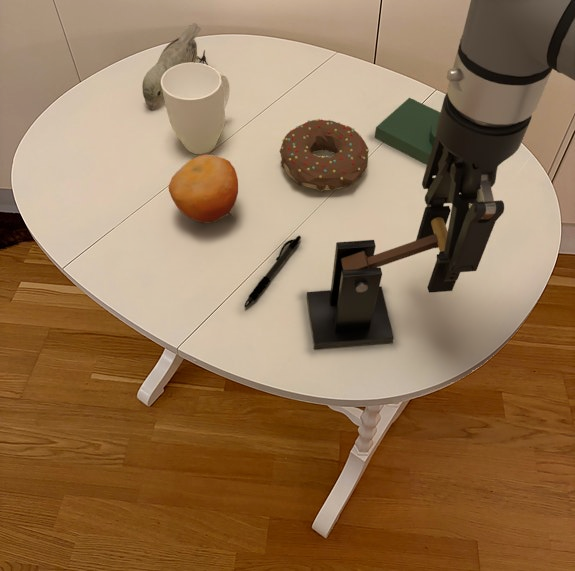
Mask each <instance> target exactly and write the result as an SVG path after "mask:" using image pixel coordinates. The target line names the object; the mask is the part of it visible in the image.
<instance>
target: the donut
mask: <svg viewBox="0 0 575 571" xmlns="http://www.w3.org/2000/svg"><path fill="white" fill-rule="evenodd" d="M281 141H282V143H281V146H280V148H279V151H278V152H279V153H280V157H281V161H280V164H281V165H280V167H281V168H283V169H284V170H285V172H286V173H287V175H288V176H289V177H290V178H291V179H292V180H294V181H295V182H296V183H297V184H298V186H304V187H306V188H310V189H314V190H318V191H319V192H323V191H334V190H339V189H344V188H349V187H351V186H352V185H353V184H355V183H356V182H357V181H358V180H359V179H360V178H361V177H362V176H363V174H364V173H365V172H366V170H367V168H368V163H369V152H370V151H369V147H368V145H367V143H366V141H365V140H364V139H363V137H362V135H361V134H360V133H358V132H357V131H356V130H355V128H354V127H351V126H349V125H345V124H342V123H341V122H337V121H334V120H331V119H322V118H321V119H320V118H317V119H313V120H310V119H308V120H307V122H304V123H301V124H300V125H298V126H297V125H296V127H295V128H293V129H290V130H289V132H287V133H286V135H285V136H284V138H282V140H281ZM322 151H325V152H328V153H329V152H330V153H333V155H331V156H329V155H325V156H324V155H322V156H318V155H316V154H315V153H316V152H322Z"/></svg>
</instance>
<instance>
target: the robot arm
mask: <svg viewBox="0 0 575 571" xmlns="http://www.w3.org/2000/svg"><path fill="white" fill-rule="evenodd" d="M458 44H459V45H458V49H457V51H456V55H455V59H454V61H453V66H452V68H450V69H448V70H447V71H446V79H447V80H448V81H449V82H448V84H447V91H446V94H445V95H444V98H443V101H442V105H441V109H440V111H439V112H440V115H439V118H438V123H437V133H436V137H435V140H434V144H433V147H432V150H431V154H430V157H429V160H428V164H427V165H426V167H425V171H424V174H423V177H422V182H421V187H422V189H423V190H427V191H426V193H425V195H424V202H425V205H426V206H425V207H424V211H423V214H422V218H421V221H420V224H419V228H418V232H417V236H416V238H415V241H416V240H419V239H422V238H425V237H428V236H431V235H434V232H433V229H432V225H431V221H432V220H433V219H434V218H437V217H441V218H443V220H444V222H445V225H446V226H447V223H448V228H447V231H448V233H447V239H446V244H445V250H444V251H440V250H439V252H438V253H437V254H436V261H435V263H434V267H433V269H432V272H431V275H430V279H429V280H428V284H427V287H426V289H427V292H428V293H429V294H432V293H445V292H453V290H454V287H455V285H456V282H457V280H458V279H459V276H460V274H461V273H469V272H477V270H478V268H479V265H480V263H481V261H482V258H483V255H484V252H485V250H486V247H487V245H488V242H489V240H490V238H491V235H492V232H493V230H494V227H495V225H496V222H497V220H498V219H500V217H501V216H502V215H503V214H504V212H505V202H504V201H503V200H495V199H494V194H493V190H492V188H493V186H494V185H495V184H496V180H497V174H498V173H497V172H498V169H499V166H500V165H502V163H503V162H505V161H506V160H508V159H509V158H511V157H512V156H514V155H515V154H516V152H517V151H518V150H519V149H520V147H521V144H522V142H523V140H524V137H525V135H526V132H527V130H528V128H529V125H530V123H531V120H532V117H533V114H534V113H535V112H536V110H537V108H538V105H539V103H540V102H541V101H540V100H541V98H542V96H543V93H544V90H545V88H546V86H547V83H548V80H549V78H550V75H551V73H552V71H553V70H554V71H556V72H557V73H558V74H562V75H564V76H566V77H568V78H569V79H571V80H573V81H575V0H470V3H469V7H468V11H467V14H466V18H465V23H464V27H463V30H462V35H461V37H460V39H459V43H458ZM445 204H451V207H450V205H445ZM448 220H449V221H448ZM434 249H439V247H435V248H434Z"/></svg>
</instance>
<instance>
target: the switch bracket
mask: <svg viewBox="0 0 575 571" xmlns="http://www.w3.org/2000/svg"><path fill="white" fill-rule="evenodd" d="M376 247H377V246H376V241H375V239H366V240H365V239H364V240H350V241H349V240H348V241H338V242H336V243H335V249H334V250H335V251H334V260H333V266H332V267H333V269H332V275H331V276H332V277H331V285H330V289H328V290H315V291H306V303H307V310H308V316H309V325H310V330H311V338H312V345H313V349H314V350H319V349H331V348H343V347H355V346H368V345H379V344H393V341H394V338H395V337H394V332H393V329H392V325H391V320H390V316H389V312H388V309H387V303H386V299H385V296H384V290H383V287H382V285H381V282H382V277H383V271H382V268H381V267H382V266H380V267H377V268H365V269H351V270H343V266H342V261H341V259H342V258H345V257H348V256H350V255H353V254H356V253H359V252H362V251H364V252H365V254H366V255H367V257H370V256H373V255H375V251H376Z"/></svg>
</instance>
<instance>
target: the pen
mask: <svg viewBox="0 0 575 571" xmlns="http://www.w3.org/2000/svg"><path fill="white" fill-rule="evenodd" d="M301 239H302V236H301V235H298V236H296V237H295V238H293V239H290V240H288V241H286V242H285V243H284V244H283V245H282V247H281V249H280V251H279V254H278V256H277V257H276V259H275V263H274V264H273V265H272V266H271V268H270V269H269V271H267V273H266V274H265V275H264V276H263V277H262V278H261V279H260V280H259V282H258V283H257V284H256V285H255V287H254V288H253V290H252V291H251V292H250V294H249V295H248V296H247V299H246V301H245V303H244V308H246V309H247V308H248V307H250V306H251V305H252V304H253V303H254V302H255V301H257V299H258V298H259V297H260V296H261V294H262V293H263V292H264V290H265V289H266V288H267V286H268V285H269V284H270V283H271V280H272V279H273V277H274V276H275V274H276V273H277V272H278V271H279V270H280V269H281V267H282V266H283V265H284V263H285V262H286V260H287V259H288V258H289V257H290V255H291V254H292V253H293V252H294V251H295V249H296V248H297V247H298V245H299V244H300V241H301Z"/></svg>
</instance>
